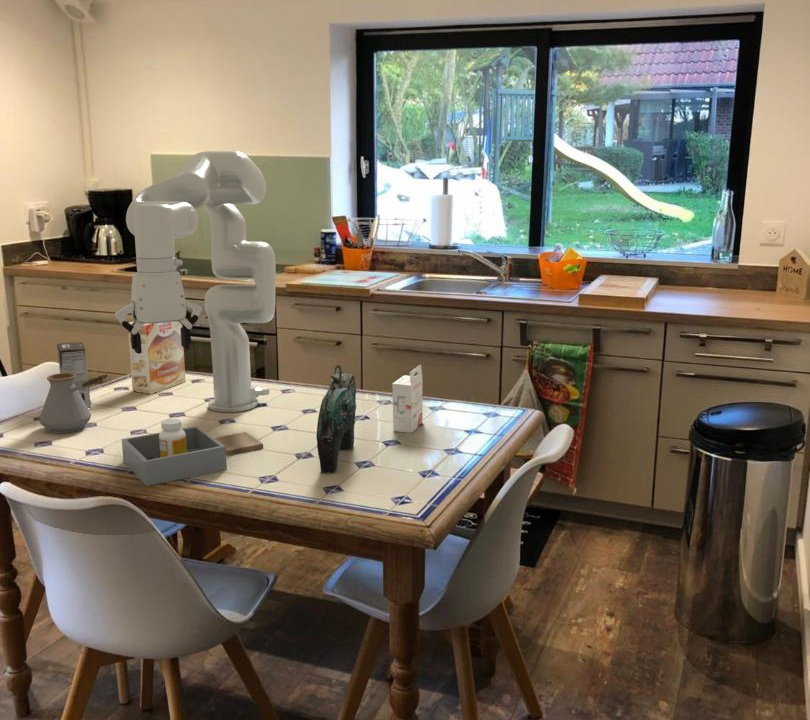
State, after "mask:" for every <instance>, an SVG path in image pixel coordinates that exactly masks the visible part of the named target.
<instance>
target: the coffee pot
mask: <svg viewBox="0 0 810 720" xmlns="http://www.w3.org/2000/svg"><path fill="white" fill-rule="evenodd" d="M75 377H76V375H75V374H72V373H61V374H60V373H55V374H51V375H48V376H47V377H46V380H47V381H48V383H49V384H50V387H49V390H48V393H47V396H46V399H45V402H44V405H43V408H42V410H41V413H40V416H39V422H40V424H41V426H43V427H44V428H45V429H47V430H48V431H49V432H51V433H53V434H68V433H75V432H78V431H80V430H82V429H83V428H84V427H85V426H86V425H87V424H88V422H90V419H91V417H92V413H91V411H90V409H88V407H87V406H86V404H85V402H84V400H83V399H82V397H81V395H80V394H79V392H78V389H81V388H83V387H86V386H89V387H90V386H92V385H95V384H96V383H98V382H101V381H103V382H104V384H107V382H106V381H105V380H104V379H107V378H110V379H112V376H110V375H108V374H103V375H98V377H93V378H92V379H88V381H87V382H85V383H83V384H81V385H79V386H76V387H75V385H74V378H75ZM111 382H112V380H109V382H108V384H109V383H111Z"/></svg>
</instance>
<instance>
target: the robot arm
mask: <svg viewBox="0 0 810 720" xmlns="http://www.w3.org/2000/svg"><path fill="white" fill-rule="evenodd" d="M266 193H267V183H266V180H265V176H264V174H263V172H262V171H261V170H260V168H259V167H258V166H257V165H256V164H255V162H254V161H253V160H252V159H251V158H250V157H249V156H247V155H246V154H244V152H240V151H237V150H236V151H235V150H233V151H232V150H230V151H229V150H227V151H226V150H211V151H210V150H206V151H205V150H204V151H201V152H200V151H199V152H197V153H195V154H194V155H192V156H191V157H190V159H189V160H188V161H187V162H186V163H185V165H184V166H183V167H182V168H181V170H180V171H179V172H178V174H177V175H175V176H172V177H169V178H166V179H163V180H162V181H160V182H159V181H158V182H157V183H155V184H151V185H150V186H147V187H146V188H144V189H142V190H141V191H140V192H139V193H138V194H136V196H135V197H134V198H133V200H132V201H131V203H130V204H129V206H128V208H127V211H126V216H125V222H126V227H127V229H128V231H129V232H130V233H131V234H132V236H134V241H135V255H136V271H137V272H136V273H133V275H132V281H131V296H130V297H131V299H130V300H131V302H130V303H129V304H127V305H125V306H124V307H122V308H121V309H119V310H117V311H116V312H115V313H114V316H115V318H116V319H117V320H118V322H119V324H120V325H121V326H122V327H123V329H125V330H127V332H128V331H129V332H130V333H131V346H132V349H134V350H135V352H136V353H138V354H141V353H142V349H141V336H140V334H139V333H138V331H139V330H140V328H141V327H142V326H143V324H152V323H164V322H175V321H179V322H180V323H181V324H182V327H181V345H182V347H184V349H190V344H192V335H191V330H192V328H193V326H194V325H195V324H196V323H197V321H198V320H199V316H200V315H201V313H202V311H203V307H202V306H201V305H199V304H197V303H194V302H193V301H190V300H187V299H186V297H185V290H184V286H183V281H182V276H181V273H180V271H177V270H178V267H181V266H183V265H184V261H183V259H182V258H181V259H180V258H178V257H177V256H176V245H175V239H186V238H188V237H191V236H192V235H193V234H195V232H196V231H197V229H198V226H199V214H198V212H197V210H196V209H199V208H202V207H204V208H205V211H206V212H207V215H208V217H209V220H210V226H211V229H210V231H211V232H210V233H211V237H210V238H211V244H210V245H211V247H210V248H211V250H210V251H211V253H210V255H211V257H210V258H211V260H210V262H211V270H212V273H213V275H214V276H215V277H217V278H220V279H224V280H252V281H253V282H254V283H255V284H219V285H215V286H212V287H210V288H209V289H207V291H206V293H205V296H204V306H205V307H204V308H205V313H206V317H207V322H208V326H209V333H210V334H209V335H210V347H211V364H212V379H213V380H212V381H213V382H212V383H213V399H210V401H208V408H209V409H210V410H211V411H215V412H219V413H237V412H244V411H248V410H252V409H254V408H256V407H257V406H258V405H259V400H258V398H259V396H260V397H261V396H269V394H270V389H269V387H262V388H261V387H260V386H258V387H253V386H252V377H251V376H252V375H251V359H250V358H251V355H250V354H251V353H250V340H249V336H248V334H247V331H246V330H245V329H244V328H243V326H242V325H241V324H243V323H245V324H247V323H248V324H265V323H269V322H270V321H272V320H273V319H274V316H275V312H276V274H277V273H276V269H277V268H276V267H277V266H276V265H277V264H276V256H275V255H276V254H275V252H274V249H273V248H272V245H270V244H269V243H267V242H264V241H247V234H246V233H247V231H246V230H247V229H246V228H247V227H246V226H247V223H246V220H245V218H244V216H243V214H242V213H241V212H240V210H239V209H238V207H236V205H256V204H259V203H262V201H263V200H264V198H265V196H266ZM187 308H189V309H191V310H192V313H191V314H190V315H189V317H188V318H186V317H187ZM130 313H131V317H132V320H133V321H132V322H133V323H132V324H129V322H128V320H127V319H126V316H127V315H128V314H130Z"/></svg>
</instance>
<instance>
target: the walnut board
mask: <svg viewBox="0 0 810 720" xmlns="http://www.w3.org/2000/svg"><path fill="white" fill-rule="evenodd" d="M214 438H215V439H216V440H218V441H219V442H220V443H222V444H223V445H224V446H226V456H229V455H236V454H240V453H244V452H245V453H246V452H250V451H255V450H260V449H264V443H263V442H261V441H259V440H258V439H257V438H255V437H254V436H252V435H251V434H249V433H247V432H246V431H243V432H238V433H233V434H228V435H227V434H226V435H222V436H221V435H220V436H217V437H216V436H215V437H214Z"/></svg>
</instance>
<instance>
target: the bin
mask: <svg viewBox="0 0 810 720" xmlns="http://www.w3.org/2000/svg"><path fill="white" fill-rule="evenodd" d="M181 429H182V430H184V431H185V434H186V447H187V453H182V454H177V455H171V456H166V457H161V458H160V445H159V433H160V432H155V433H148V434H145V435H144V434H143V435H137V436H133V437H127V438H121V448H122V449H121V450H122V460H123V463H124V464H125V465H126V467H128V468H129V469H130V471H132V473H133V474H134V475H135V476H136V477H137V478H138V479H139V480H140V482H142V483H143V485H145V486H146V487H149V486H153V485H159V484H164V483H168V482H174V481H178V480H182V479H183V480H184V479H187V478H192V477H197V476H202V475H207V474H211V473H216V472H222V471H227V469H228V467H227V466H228V465H227V463H228V462H227V455H226V446H224V445H223V444H222V443H220V442H219V441H218V440H216V439H215V438H216V437H214V436H212V435H211V434H210V433H208V432H207V431H205V429H203V428H202V427H200V426H199V425H195V426H190V427H184V428H183V427H182V428H181ZM151 458H152V459H151Z"/></svg>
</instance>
